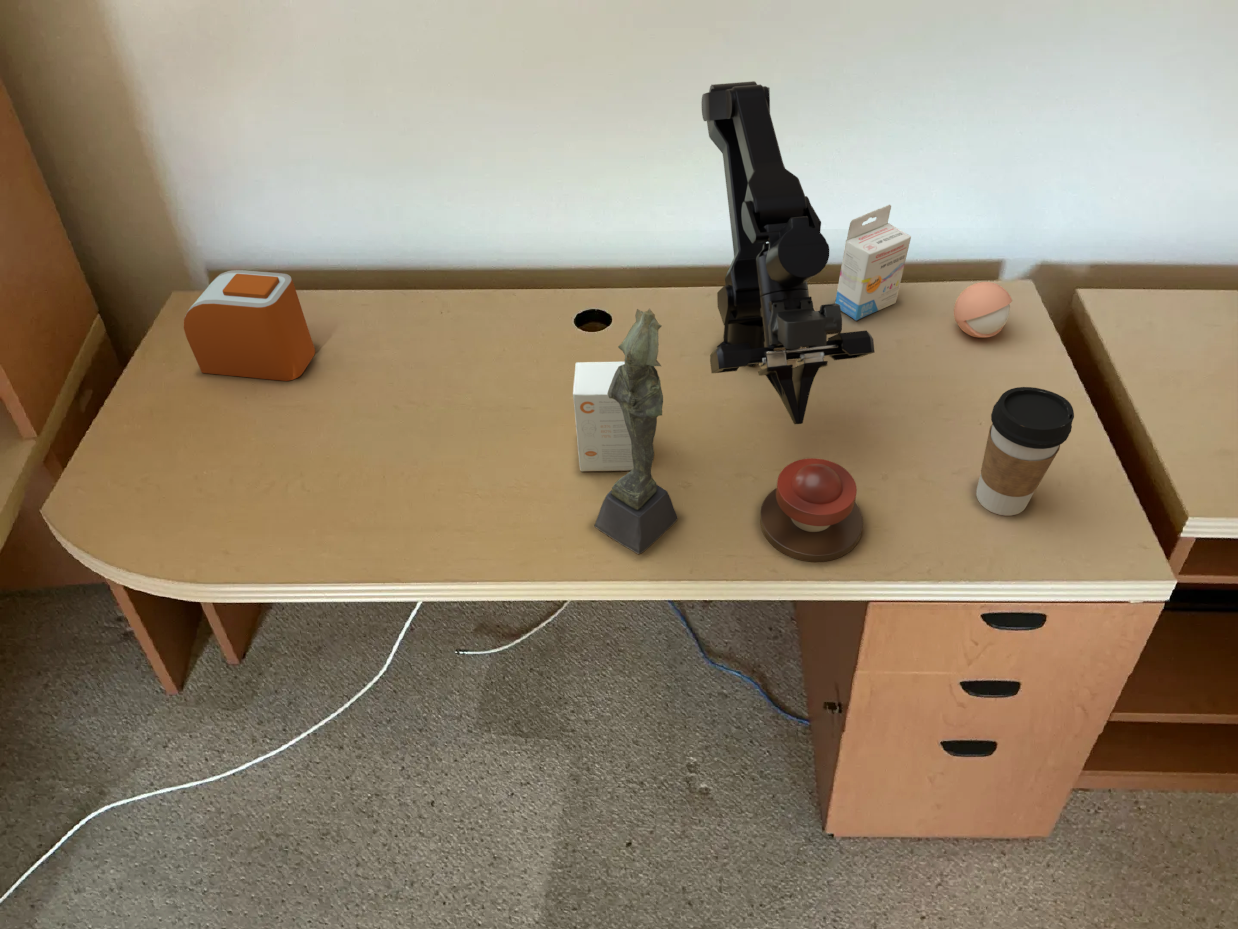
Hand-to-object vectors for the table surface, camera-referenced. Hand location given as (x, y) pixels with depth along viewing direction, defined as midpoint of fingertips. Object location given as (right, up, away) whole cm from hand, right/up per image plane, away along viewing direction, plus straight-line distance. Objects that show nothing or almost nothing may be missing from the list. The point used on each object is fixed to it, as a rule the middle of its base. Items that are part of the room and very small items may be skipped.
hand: (798, 424), depth 112 cm
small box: (-23, -4, +9) cm, 25 cm away
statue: (-19, -12, +1) cm, 23 cm away
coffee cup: (+25, -9, +2) cm, 27 cm away
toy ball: (+31, +14, +25) cm, 42 cm away
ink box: (+16, +19, +31) cm, 40 cm away
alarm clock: (-74, +10, +25) cm, 79 cm away
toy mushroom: (+1, -12, 0) cm, 12 cm away
